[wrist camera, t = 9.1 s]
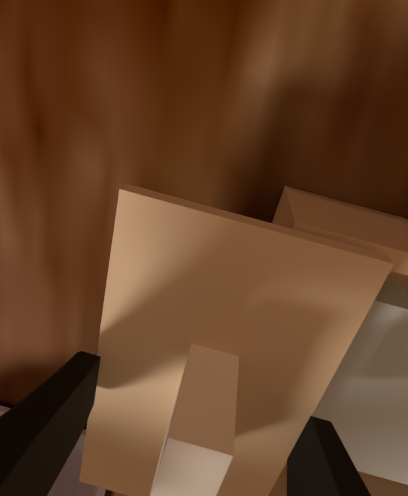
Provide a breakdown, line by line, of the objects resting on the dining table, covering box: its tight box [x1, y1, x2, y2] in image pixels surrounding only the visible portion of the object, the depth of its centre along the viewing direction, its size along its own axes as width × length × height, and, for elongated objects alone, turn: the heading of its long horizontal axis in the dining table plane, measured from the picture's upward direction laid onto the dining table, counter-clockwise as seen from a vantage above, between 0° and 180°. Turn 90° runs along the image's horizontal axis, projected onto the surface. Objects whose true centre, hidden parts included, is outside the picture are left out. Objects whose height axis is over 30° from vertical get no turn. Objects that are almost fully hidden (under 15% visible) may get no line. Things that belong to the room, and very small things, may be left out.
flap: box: [79, 184, 394, 496], centre depth 10 cm, size 7×12×4 cm, turn 166°
